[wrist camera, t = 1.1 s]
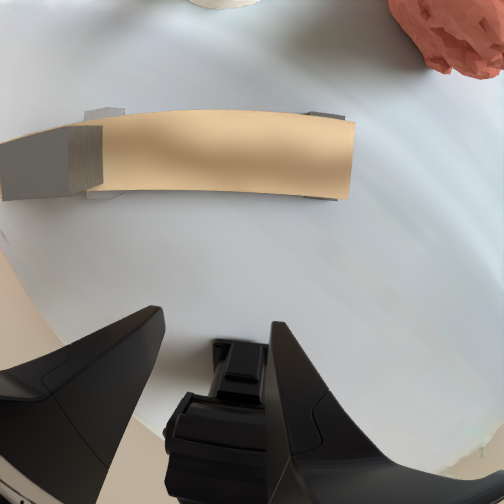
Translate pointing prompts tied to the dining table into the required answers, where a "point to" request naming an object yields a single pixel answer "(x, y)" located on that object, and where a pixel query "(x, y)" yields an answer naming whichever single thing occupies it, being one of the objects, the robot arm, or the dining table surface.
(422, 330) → the dining table surface
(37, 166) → the block
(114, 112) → the stand
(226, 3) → the figurine
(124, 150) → the beam
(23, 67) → the dining table surface
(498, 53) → the anatomical model
